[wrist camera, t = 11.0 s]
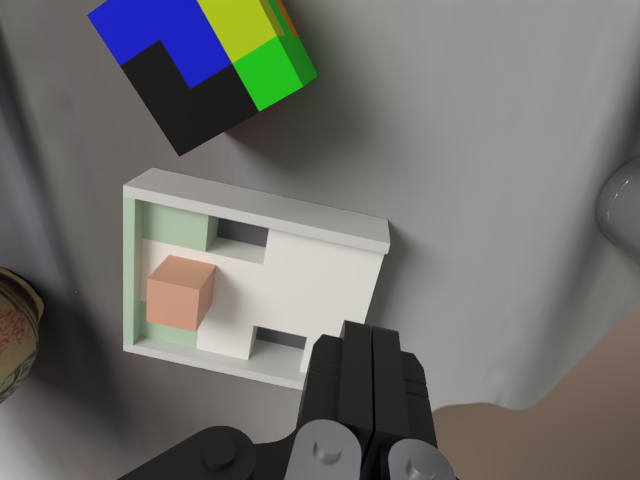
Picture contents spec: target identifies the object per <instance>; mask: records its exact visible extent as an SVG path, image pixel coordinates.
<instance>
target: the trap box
mask: <svg viewBox="0 0 640 480" xmlns="http://www.w3.org/2000/svg"><path fill="white" fill-rule="evenodd" d="M389 247H390V236H389V228H388V220H387V219H383V218H378V217H374V216H369V215H365V214H360V213H356V212H351V211H347V210H342V209H337V208H333V207H328V206H324V205H319V204H315V203H310V202H306V201H301V200H297V199H292V198H288V197H283V196H278V195H274V194H269V193H265V192H260V191H256V190H251V189H247V188H242V187H238V186H233V185H228V184H224V183H219V182H215V181H210V180H206V179H201V178H197V177H192V176H188V175H183V174H178V173H174V172H169V171H165V170H160V169H156V168H151V169H149V170H148V171H146V172H144V173H143V174H141V175H139V176H138V177H136V178H134V179H133V180H131V181H129V182H128V183H126V184H124V185H123V351H127V352H131V353H136V354H140V355H145V356H149V357H154V358H158V359H163V360H167V361H172V362H176V363H181V364H185V365H190V366H194V367H199V368H203V369H208V370H213V371H217V372H222V373H226V374H231V375H235V376H240V377H244V378H249V379H253V380H258V381H262V382H267V383H271V384H276V385H280V386H285V387H289V388H294V389H298V390H303V385H304V381H305V377H306V373H307V369H308V364H309V360H310V356H311V352H312V348H313V344H314V343H315V342H316V341H317V340H318V339H319V338H320V336H321V335H322V334H326V335H331V336H335V337H339V336H340V332H341V329H342V325H343V322H344V320H348V321H353V322H357V323H362V324H364V322H365V318H366V315H367V311H368V308H369V305H370V301H371V298H372V294H373V291H374V288H375V284H376V281H377V278H378V274H379V271H380V267H381V264H382V261H383V257H384V254H388V251H389ZM168 255H173V256H178V257H182V258H187V259H192V260H196V261H201V262H205V263H210V264H214V265H216V271H215V280H214V290H213V300H212V305H211V307H210V309H209V310H208V312H207V314H206V315H205V317H204V319H203V321H202V322H201V324H200V326H199V328H198V329H197V331H196V332H193V331H188V330H183V329H179V328H174V327H170V326H165V325H161V324H156V323H152V322H147V321H146V313H147V278H148V277H149V276H150V275H151V274H152V273H153V272H154V271H155V270H156V269H157V267H158V266H159V265H160V264H161V263H162V262H163V261H164V260H165V259H166V258H167V256H168Z"/></svg>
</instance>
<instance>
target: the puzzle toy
mask: <svg viewBox="0 0 640 480" xmlns="http://www.w3.org/2000/svg"><path fill="white" fill-rule="evenodd" d="M87 16H88V18H89V19H90V21H91V22H92V24H93V25H94V27H95V28H96V30H97V31H98V33H99V34H100V36H101V37H102V39H103V41H104V42H105V44H106V45H107V47H108V48H109V50H110V51H111V53H112V54H113V56H114V57H115V59H116V60H117V62H118V64H119V65H120V67H121V68H122V70H123V71H124V73H125V74H126V76H127V77H128V79H129V80H130V82H131V84H132V85H133V87H134V88H135V90H136V91H137V93H138V94H139V96H140V97H141V99H142V100H143V102H144V103H145V105H146V107H147V108H148V110H149V111H150V113H151V114H152V116H153V117H154V119H155V120H156V122H157V123H158V125H159V126H160V128H161V130H162V131H163V133H164V134H165V136H166V137H167V139H168V140H169V142H170V143H171V145H172V146H173V148H174V149H175V151H176V153H177V154H178V156H179V157H180V156H182V155H183V154H185V153H187V152H189V151H190V150H192V149H194V148H196V147H198V146H199V145H201V144H203V143H205V142H206V141H208V140H210V139H212V138H213V137H215V136H217V135H219V134H221V133H222V132H224V131H226V130H228V129H229V128H231V127H233V126H235V125H237V124H238V123H240V122H242V121H244V120H245V119H247V118H249V117H251V116H253V115H254V114H256V113H258V112H260V111H261V110H263V109H265V108H267V107H268V106H270V105H272V104H274V103H276V102H277V101H279V100H281V99H283V98H284V97H286V96H288V95H290V94H292V93H293V92H295V91H297V90H299V89H300V88H302V87H304V86H305V85H306V84H308V83H309V82H311V81H312V80H313V79H315V78H316V77H317V76H318V74H317V72H316V70H315V68H314V66H313V64H312V62H311V60H310V58H309V56H308V54H307V52H306V49H305V47H304V45H303V43H302V41H301V39H300V37H299V35H298V33H297V31H296V29H295V27H294V25H293V23H292V21H291V19H290V17H289V15H288V13H287V11H286V9H285V7H284V5H283V3H282V1H281V0H107V1H106V2H105V3H103V4H102V5H100V6H99V7H98V8H96V9H95V10H94V11H92V12H91V13H89V14H88V15H87Z"/></svg>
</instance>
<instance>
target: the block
mask: <svg viewBox="0 0 640 480" xmlns="http://www.w3.org/2000/svg"><path fill="white" fill-rule="evenodd" d="M215 271H216V265H214V264H210V263H205V262H201V261H196V260H192V259H187V258H182V257H178V256H173V255H168V256H167V258H166V259H165V260H164V261H163V262H162V263H161V264H160V265H159V266H158V267H157V269H156V270H155V271H154V272H153V273H152V274H151V275H150V276H149V277H148V278H147V313H146V321H147V322H152V323H156V324H161V325H165V326H170V327H174V328H179V329H183V330H188V331H193V332H196V331H197V329H198V328H199V326H200V324H201V322H202V321H203V319H204V317H205V315H206V314H207V312H208V310H209V309H210V307H211V305H212V300H213V290H214V280H215Z"/></svg>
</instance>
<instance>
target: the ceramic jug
mask: <svg viewBox="0 0 640 480" xmlns="http://www.w3.org/2000/svg"><path fill="white" fill-rule="evenodd" d="M43 309H44V304H43V301H42V299H41V298H40V297H39V296H38V295H37V294H36V293H35V291H34V290H33V289H32V287H31V286H30V285H29V284H28V283H26V282H25V281H24V280H22V279H21V278H19V277H18V276H16V275H14V274H13V273H11V272H10V271H8V270H6V269H4V268H1V267H0V404H1V403H2V402H3V401H4V400H6V399H7V398H8V397H9V396H10V395H11V394H12V393H13V392H14V391H15V390H16V389H17V388H18V387H19V385H20V384H21V383H22V382H23V380H24V379H25V378H26V376H27V375H28V373H29V371H30V369H31V368H32V366H33V363H34V360H35V357H36V355H37V352H38V350H39V338H38V323H39V321H40V319H41V317H42V314H43Z"/></svg>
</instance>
